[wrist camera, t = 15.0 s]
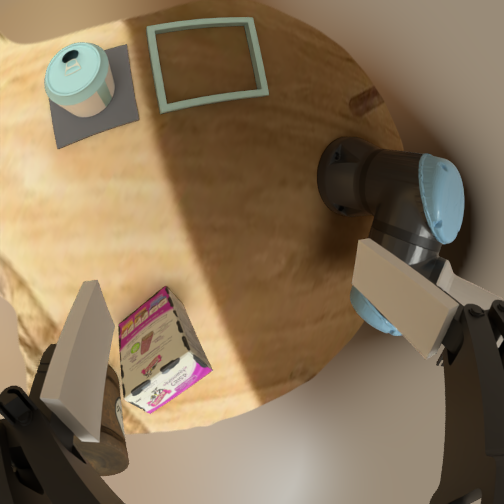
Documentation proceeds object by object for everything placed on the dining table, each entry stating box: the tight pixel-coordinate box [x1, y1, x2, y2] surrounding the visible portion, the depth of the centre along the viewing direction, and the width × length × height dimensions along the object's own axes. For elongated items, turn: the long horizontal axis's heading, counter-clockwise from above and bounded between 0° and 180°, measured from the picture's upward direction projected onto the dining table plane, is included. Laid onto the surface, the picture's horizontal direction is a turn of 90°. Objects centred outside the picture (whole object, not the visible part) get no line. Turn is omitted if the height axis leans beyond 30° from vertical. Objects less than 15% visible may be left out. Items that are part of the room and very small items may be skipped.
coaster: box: [49, 44, 139, 149], centre depth 26 cm, size 12×12×1 cm
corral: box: [146, 17, 269, 114], centre depth 31 cm, size 16×14×2 cm
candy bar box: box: [118, 286, 213, 414], centre depth 35 cm, size 11×5×16 cm, turn 121°
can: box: [44, 42, 115, 117], centre depth 21 cm, size 7×7×12 cm
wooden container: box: [73, 365, 129, 476], centre depth 31 cm, size 15×15×22 cm
